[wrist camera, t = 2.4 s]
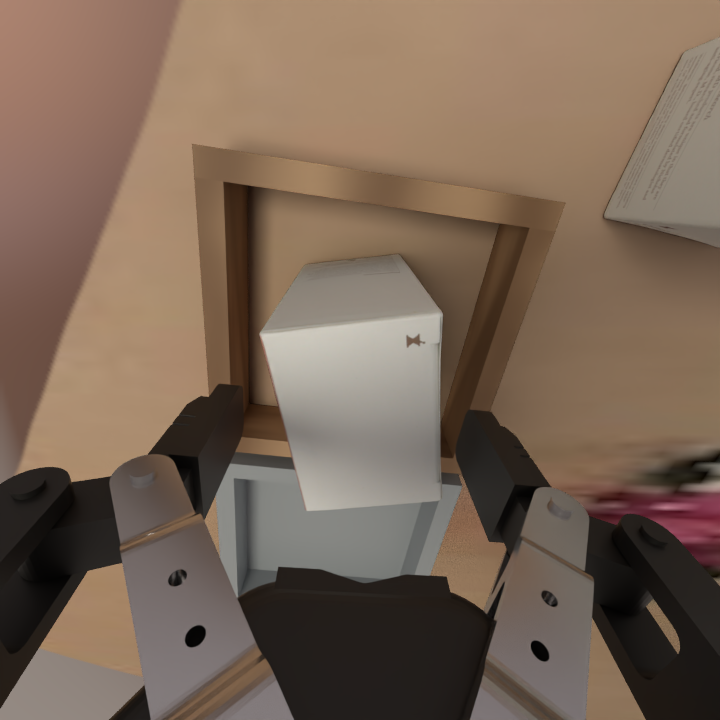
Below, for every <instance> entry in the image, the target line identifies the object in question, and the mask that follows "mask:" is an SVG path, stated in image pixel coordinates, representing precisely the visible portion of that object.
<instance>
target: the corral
mask: <svg viewBox="0 0 720 720" xmlns="http://www.w3.org/2000/svg"><path fill="white" fill-rule="evenodd" d="M192 150H193V164H194V179H195V194H196V209H197V223H198V238H199V253H200V268H201V283H202V297H203V312H204V327H205V342H206V356H207V371H208V386H209V396H210V395H211V393H212V392H213V390H214V389H215V388H216V386H217V385H218V384H230V385H239V386H242V387H243V408H244V427H243V433H242V437H241V440H240V442H239V445H238V447H237V449H236V451H235V452H242V453H252V454H262V455H272V456H282V457H292V456H291V453H290V449H289V445H288V441H287V437H286V434H285V430H284V426H283V422H282V418H281V415H280V411H279V407H274V406H265V405H256V404H249V334H248V200H247V185H249V186H256V187H263V188H269V189H276V190H283V191H289V192H296V193H302V194H309V195H316V196H322V197H329V198H335V199H342V200H349V201H355V202H362V203H369V204H375V205H382V206H388V207H395V208H402V209H408V210H415V211H422V212H428V213H435V214H441V215H448V216H455V217H461V218H468V219H474V220H481V221H488V222H494V223H500V225H499V228H498V232H497V235H496V239H495V242H494V245H493V249H492V252H491V255H490V259H489V262H488V266H487V269H486V272H485V276H484V279H483V283H482V286H481V289H480V293H479V296H478V300H477V303H476V306H475V310H474V313H473V316H472V320H471V323H470V327H469V330H468V333H467V337H466V340H465V344H464V347H463V350H462V354H461V357H460V361H459V364H458V367H457V371H456V374H455V377H454V381H453V384H452V388H451V391H450V394H449V398H448V401H447V405H446V408H445V411H444V415H443V418H442V422H441V424H440V458H441V472H444V473H454V474H462V473H461V470H460V468H459V465H458V463H457V460H456V454H455V448H456V443H457V439H458V436H459V433H460V430H461V427H462V424H463V421H464V418H465V415H466V413H467V411H468V410H480V411H490V409H491V406H492V404H493V401H494V398H495V395H496V393H497V390H498V387H499V384H500V382H501V379H502V376H503V373H504V371H505V368H506V365H507V362H508V360H509V357H510V354H511V351H512V349H513V346H514V343H515V341H516V338H517V335H518V332H519V330H520V327H521V324H522V321H523V319H524V316H525V313H526V310H527V308H528V305H529V302H530V299H531V297H532V294H533V291H534V288H535V286H536V283H537V280H538V278H539V275H540V272H541V269H542V267H543V264H544V261H545V258H546V256H547V253H548V250H549V247H550V245H551V242H552V239H553V236H554V234H555V231H556V228H557V225H558V223H559V220H560V217H561V214H562V212H563V209H564V206H565V204H566V203H564V202H557V201H551V200H545V199H538V198H532V197H526V196H519V195H513V194H507V193H500V192H494V191H488V190H481V189H475V188H469V187H462V186H456V185H450V184H443V183H437V182H430V181H424V180H418V179H411V178H405V177H399V176H392V175H386V174H380V173H373V172H367V171H361V170H354V169H348V168H342V167H335V166H329V165H323V164H316V163H310V162H303V161H297V160H291V159H284V158H278V157H272V156H265V155H259V154H253V153H246V152H240V151H234V150H227V149H221V148H215V147H208V146H202V145H196V144H192Z"/></svg>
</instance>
